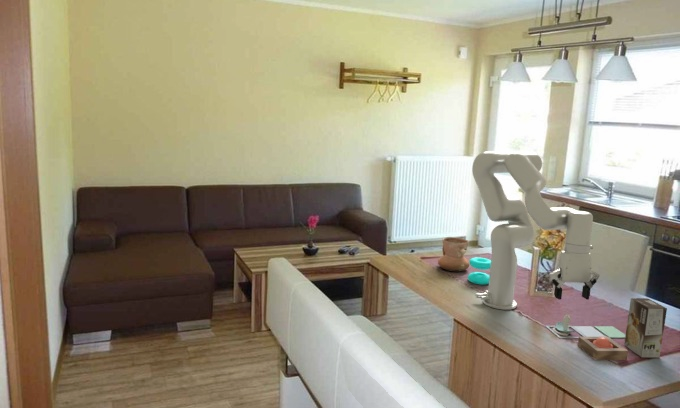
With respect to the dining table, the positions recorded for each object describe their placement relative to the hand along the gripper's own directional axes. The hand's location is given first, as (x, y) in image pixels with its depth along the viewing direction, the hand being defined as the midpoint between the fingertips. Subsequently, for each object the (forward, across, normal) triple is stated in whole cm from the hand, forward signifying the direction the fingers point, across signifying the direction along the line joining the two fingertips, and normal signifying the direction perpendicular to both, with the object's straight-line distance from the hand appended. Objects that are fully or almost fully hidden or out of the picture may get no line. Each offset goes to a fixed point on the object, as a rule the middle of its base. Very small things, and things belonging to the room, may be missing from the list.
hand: (571, 298), depth 173 cm
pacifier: (+13, +2, -1) cm, 13 cm away
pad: (+12, -16, -1) cm, 20 cm away
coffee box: (+13, -17, +13) cm, 25 cm away
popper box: (+13, -3, +14) cm, 19 cm away
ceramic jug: (+11, +17, -73) cm, 75 cm away
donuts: (+12, +11, -54) cm, 56 cm away
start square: (+12, 0, -1) cm, 12 cm away
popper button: (+12, -3, +14) cm, 19 cm away
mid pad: (+12, -8, -1) cm, 15 cm away
